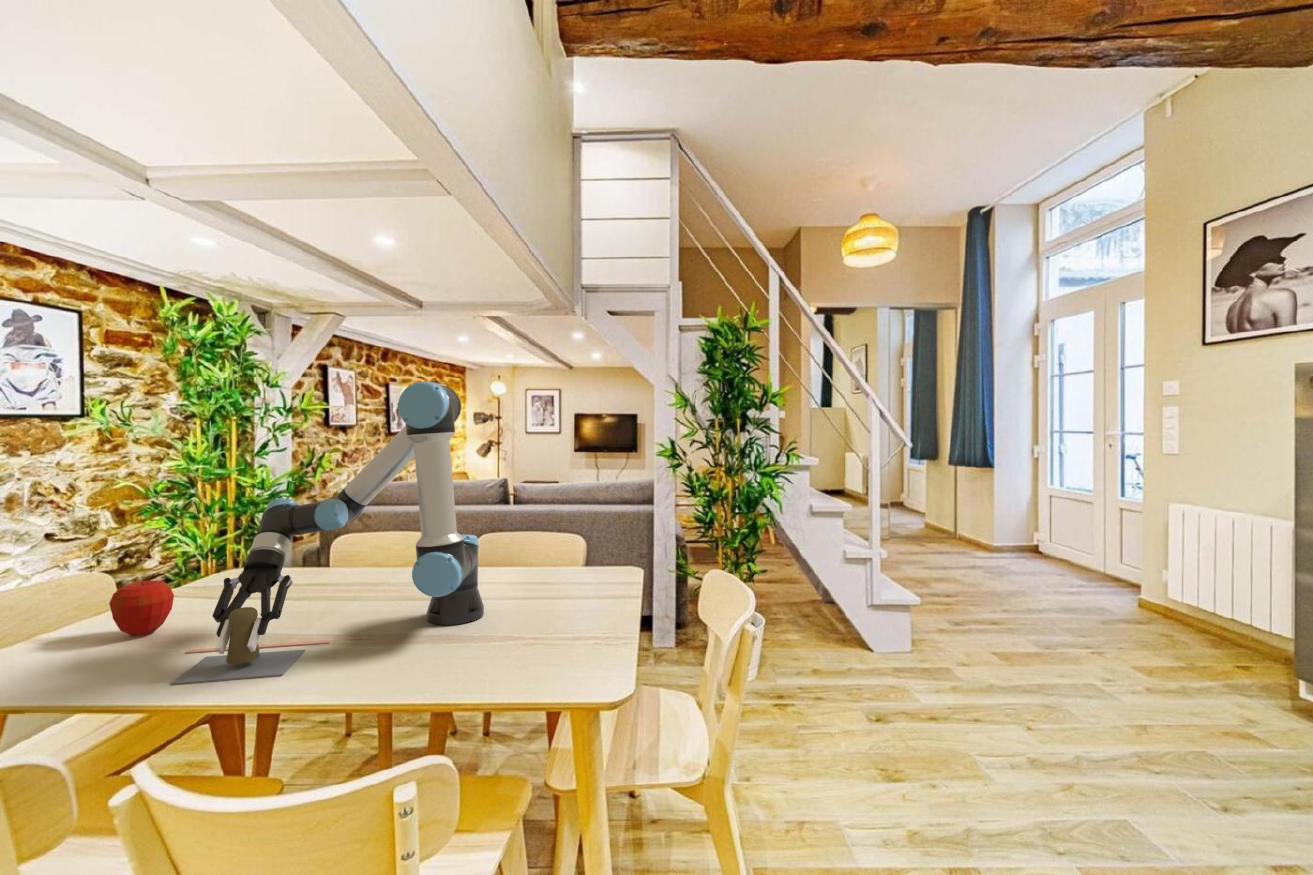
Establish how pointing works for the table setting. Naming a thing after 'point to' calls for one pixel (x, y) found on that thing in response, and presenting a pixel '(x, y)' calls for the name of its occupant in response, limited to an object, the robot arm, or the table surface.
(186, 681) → the mat
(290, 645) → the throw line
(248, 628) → the cork
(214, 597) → the table surface
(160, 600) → the apple
